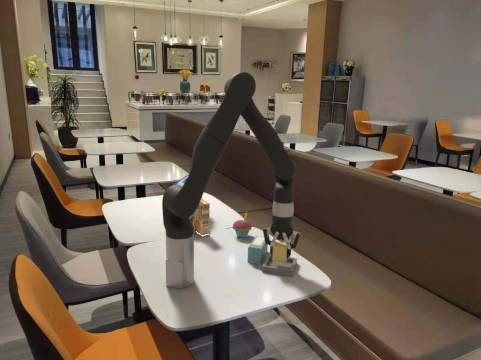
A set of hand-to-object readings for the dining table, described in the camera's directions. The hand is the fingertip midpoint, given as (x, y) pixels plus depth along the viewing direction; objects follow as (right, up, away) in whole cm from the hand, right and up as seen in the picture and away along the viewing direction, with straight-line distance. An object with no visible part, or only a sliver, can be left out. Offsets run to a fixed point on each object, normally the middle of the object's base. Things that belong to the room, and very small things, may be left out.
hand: (280, 256), depth 140 cm
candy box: (-33, +4, +30) cm, 45 cm away
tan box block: (0, -1, 0) cm, 1 cm away
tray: (0, -4, +1) cm, 4 cm away
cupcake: (-14, +3, +29) cm, 33 cm away
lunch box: (-41, +9, +49) cm, 65 cm away
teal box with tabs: (-8, -2, +9) cm, 12 cm away
